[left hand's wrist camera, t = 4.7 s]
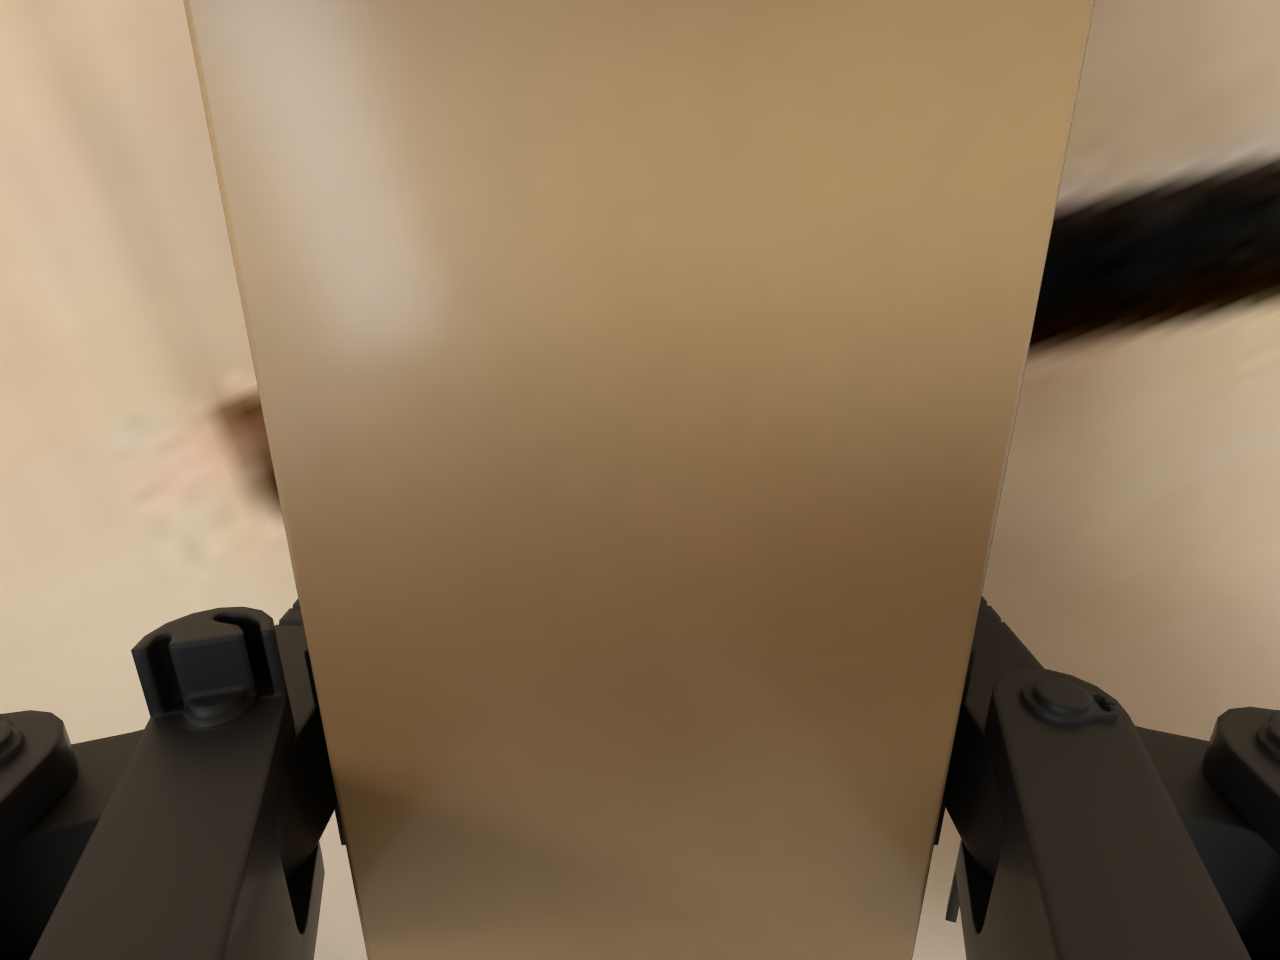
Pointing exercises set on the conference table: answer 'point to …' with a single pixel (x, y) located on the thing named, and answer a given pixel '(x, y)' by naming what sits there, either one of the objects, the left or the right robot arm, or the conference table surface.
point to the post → (639, 439)
